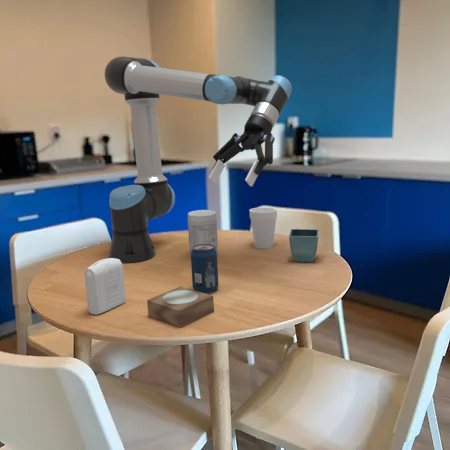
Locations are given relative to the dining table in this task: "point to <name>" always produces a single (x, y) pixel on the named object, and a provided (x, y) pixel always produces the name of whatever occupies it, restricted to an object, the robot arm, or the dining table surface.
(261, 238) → the foam cup
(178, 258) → the dining table surface
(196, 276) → the soda can
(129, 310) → the dining table surface
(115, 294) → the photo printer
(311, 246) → the flower pot
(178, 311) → the plinth
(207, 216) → the supplement tub
